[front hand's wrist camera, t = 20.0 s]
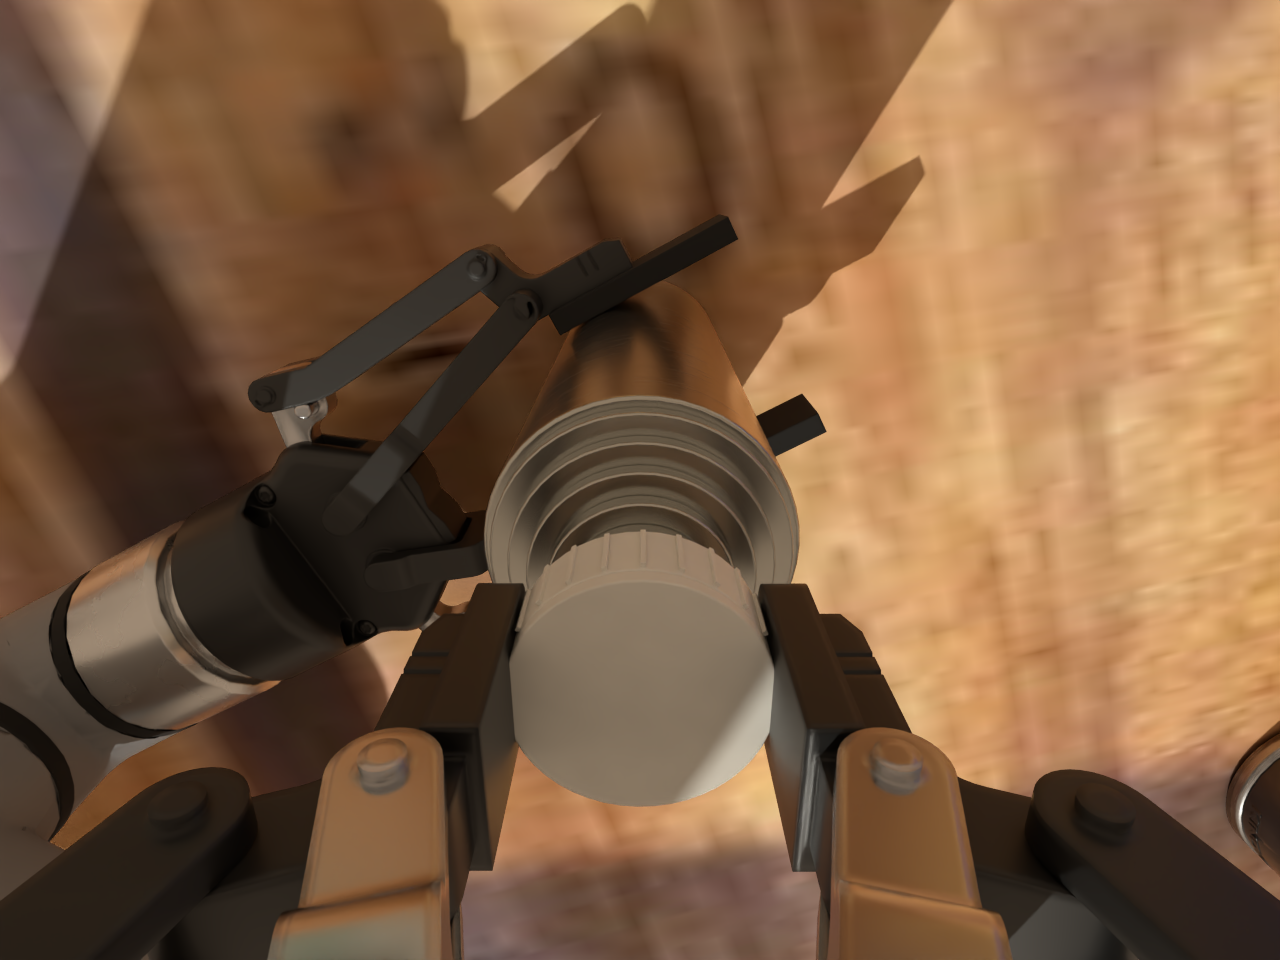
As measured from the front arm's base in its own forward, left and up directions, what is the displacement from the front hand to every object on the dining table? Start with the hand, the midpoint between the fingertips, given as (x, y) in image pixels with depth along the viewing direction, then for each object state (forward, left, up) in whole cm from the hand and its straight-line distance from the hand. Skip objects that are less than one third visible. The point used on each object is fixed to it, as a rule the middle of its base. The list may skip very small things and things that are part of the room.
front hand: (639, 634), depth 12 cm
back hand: (-5, 0, -16) cm, 17 cm away
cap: (0, 0, +1) cm, 1 cm away
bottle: (0, 0, -22) cm, 22 cm away
